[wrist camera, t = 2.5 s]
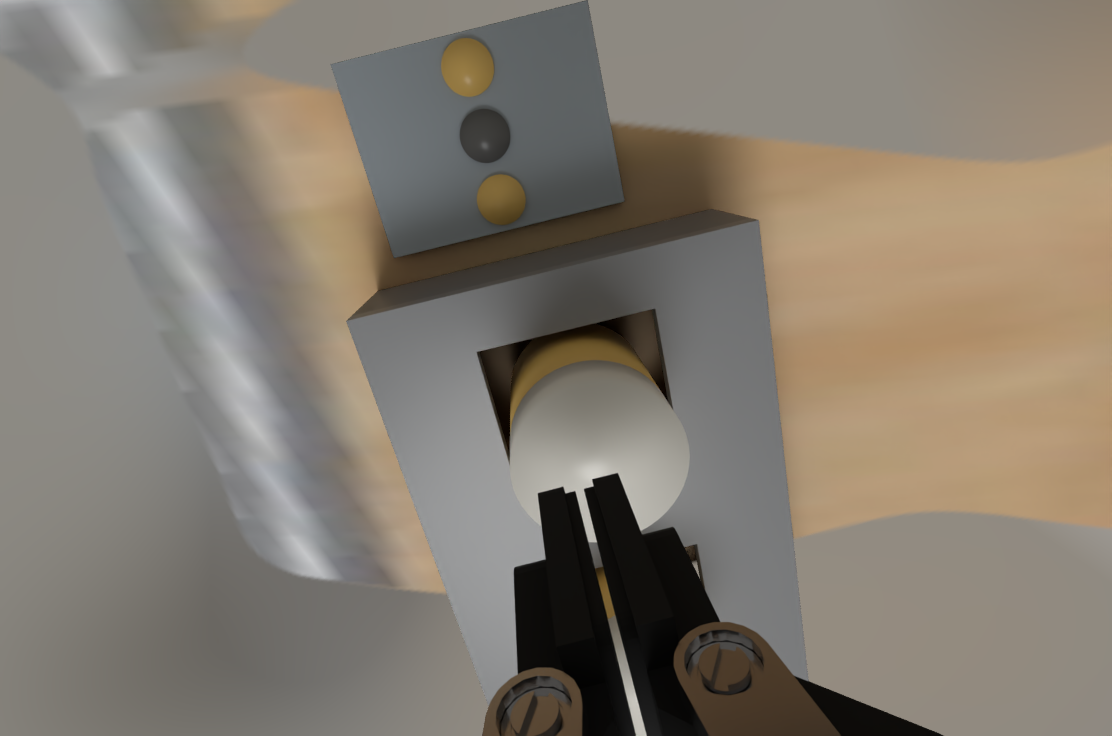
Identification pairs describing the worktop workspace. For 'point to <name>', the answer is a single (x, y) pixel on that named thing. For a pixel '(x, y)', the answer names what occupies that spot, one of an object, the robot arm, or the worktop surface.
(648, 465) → the button
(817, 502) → the worktop surface
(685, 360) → the button board
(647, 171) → the worktop surface
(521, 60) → the card
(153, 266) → the worktop surface
